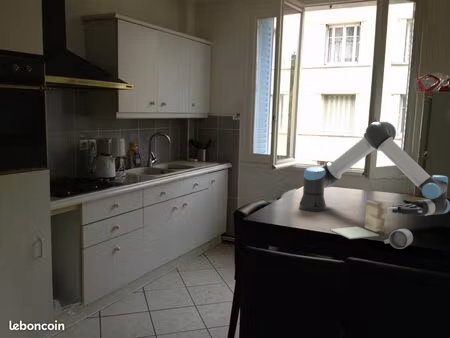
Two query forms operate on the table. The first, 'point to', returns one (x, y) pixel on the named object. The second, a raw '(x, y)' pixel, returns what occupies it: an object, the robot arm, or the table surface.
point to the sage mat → (354, 232)
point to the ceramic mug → (400, 238)
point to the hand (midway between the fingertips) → (385, 210)
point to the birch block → (375, 216)
